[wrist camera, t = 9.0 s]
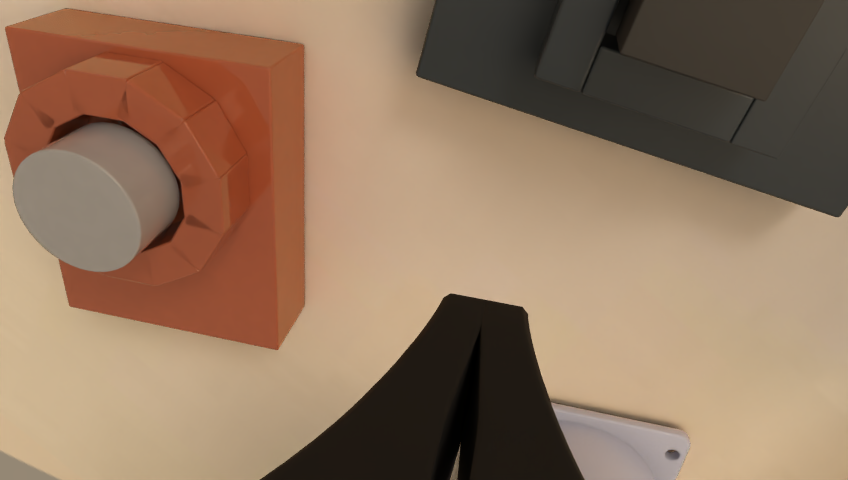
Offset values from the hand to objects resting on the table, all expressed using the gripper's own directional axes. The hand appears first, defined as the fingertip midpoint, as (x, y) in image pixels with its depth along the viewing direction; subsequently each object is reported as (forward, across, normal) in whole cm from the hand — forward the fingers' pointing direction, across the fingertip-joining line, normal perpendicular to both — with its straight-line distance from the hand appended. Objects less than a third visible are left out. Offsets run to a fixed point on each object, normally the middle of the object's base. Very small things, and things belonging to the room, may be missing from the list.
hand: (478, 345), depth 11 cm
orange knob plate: (+10, +11, +4) cm, 15 cm away
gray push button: (+6, +11, +2) cm, 13 cm away
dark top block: (+7, -4, -5) cm, 10 cm away
